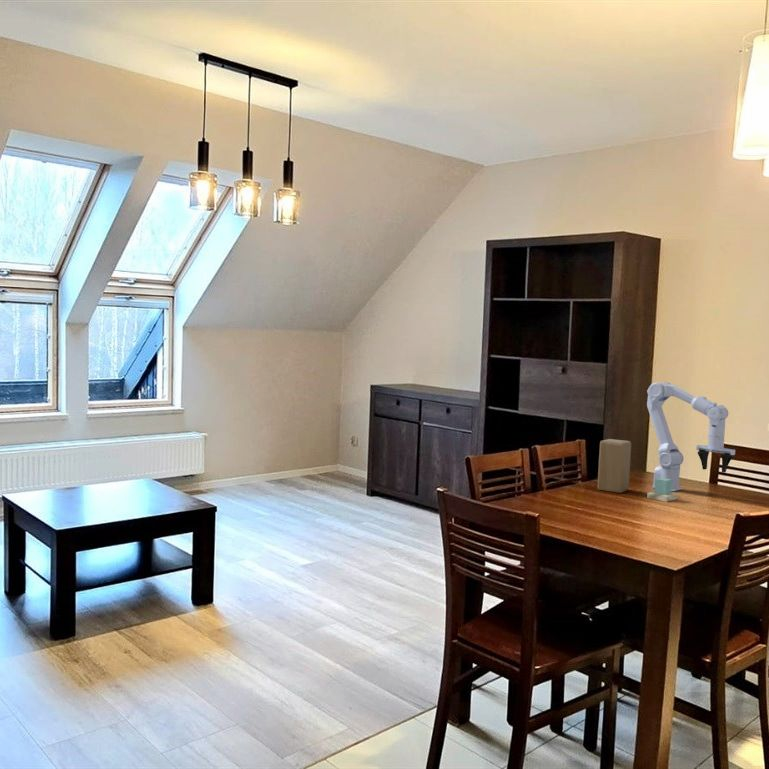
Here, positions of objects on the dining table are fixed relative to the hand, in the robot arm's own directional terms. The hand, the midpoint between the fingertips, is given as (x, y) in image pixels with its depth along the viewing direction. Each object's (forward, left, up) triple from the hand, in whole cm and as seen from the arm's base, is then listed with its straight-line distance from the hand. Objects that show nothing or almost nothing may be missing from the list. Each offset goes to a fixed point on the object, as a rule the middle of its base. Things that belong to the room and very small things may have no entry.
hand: (714, 470), depth 302 cm
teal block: (-10, -21, -8) cm, 25 cm away
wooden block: (-30, -23, -11) cm, 39 cm away
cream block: (-10, -21, -10) cm, 25 cm away
